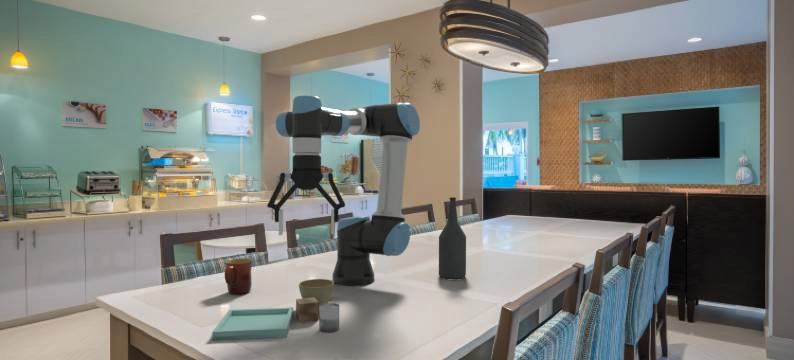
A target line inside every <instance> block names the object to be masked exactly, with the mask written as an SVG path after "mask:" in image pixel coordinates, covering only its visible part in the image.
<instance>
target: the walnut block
mask: <svg viewBox="0 0 794 360" xmlns="http://www.w3.org/2000/svg"><path fill="white" fill-rule="evenodd" d="M295 318H296V319H297V321H298V323H299V324H302V323H303V324H304V323H309V322H317V321H318V322H319V310H318V301H317V300H316V299H315V297H312V298H303V299H302V298H296V299H295Z"/></svg>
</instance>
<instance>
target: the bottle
mask: <svg viewBox="0 0 794 360" xmlns="http://www.w3.org/2000/svg"><path fill="white" fill-rule="evenodd" d="M456 200H457V197H453V196H452V197H449V207H448V218H447V223H446V224H445V226H444V228H443V229H442V231H441V233H440V234H439V236H438V276H439V278H441V279H443V278H445V279H444V280H447V279H461V280H463V279H462V278H464V279H465V277H466V276H467V235H466V234H465V232H464V230H463V228H462V227H461V225H460V223H459V222H458V213H457V212H458V211H457V202H456Z"/></svg>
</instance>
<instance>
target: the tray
mask: <svg viewBox="0 0 794 360" xmlns="http://www.w3.org/2000/svg"><path fill="white" fill-rule="evenodd" d="M293 317H294V307H292V306H291V307H290V306H289V307H270V308H266V307H265V308H239V309H238V308H237V309H235V308H234V309H228V311H227V312H226V314H225V315H224V316H223V317H222V319H220V321H219V323H218V324H217V325H216V326H215V328H214V329H213V330H212V331H211V332H212V333H211V334H212V335H211V336H212V339H211V341H227V340H247V339H248V340H249V339H269V338H270V339H271V338H273V339H274V338H287V337H288V334H289V330H290V327H291V323H292V321H293Z"/></svg>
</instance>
